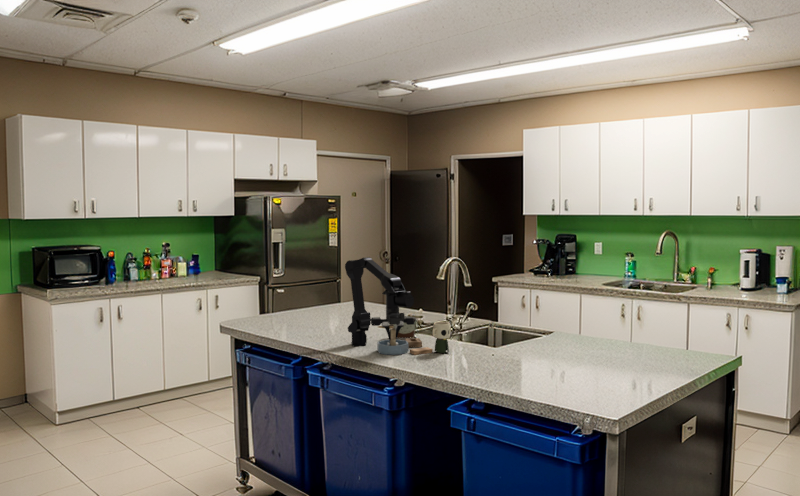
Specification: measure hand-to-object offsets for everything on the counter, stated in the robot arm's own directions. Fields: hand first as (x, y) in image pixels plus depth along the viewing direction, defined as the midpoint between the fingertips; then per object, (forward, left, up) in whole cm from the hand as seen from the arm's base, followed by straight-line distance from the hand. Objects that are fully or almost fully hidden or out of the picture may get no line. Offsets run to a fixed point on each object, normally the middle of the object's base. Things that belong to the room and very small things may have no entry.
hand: (392, 340), depth 268 cm
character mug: (+21, -5, -5) cm, 22 cm away
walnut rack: (+11, +11, -5) cm, 16 cm away
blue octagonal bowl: (0, 0, -5) cm, 5 cm away
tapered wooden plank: (+12, -4, -6) cm, 14 cm away
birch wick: (0, 0, -4) cm, 4 cm away
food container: (+10, +31, -5) cm, 33 cm away
